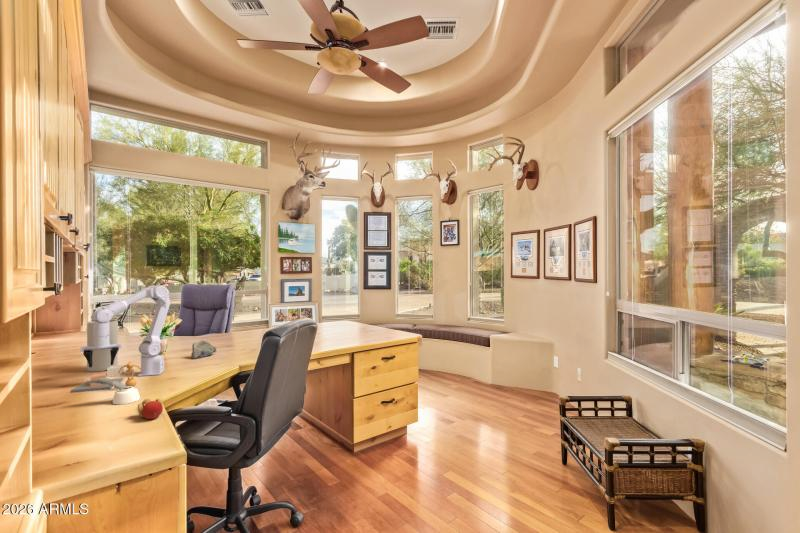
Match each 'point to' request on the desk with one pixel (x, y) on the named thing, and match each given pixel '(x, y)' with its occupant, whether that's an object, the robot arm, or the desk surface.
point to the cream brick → (114, 370)
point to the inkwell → (119, 391)
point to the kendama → (150, 408)
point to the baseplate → (93, 387)
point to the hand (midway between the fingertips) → (101, 365)
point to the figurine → (130, 380)
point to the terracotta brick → (98, 375)
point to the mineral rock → (202, 349)
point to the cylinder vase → (102, 357)
